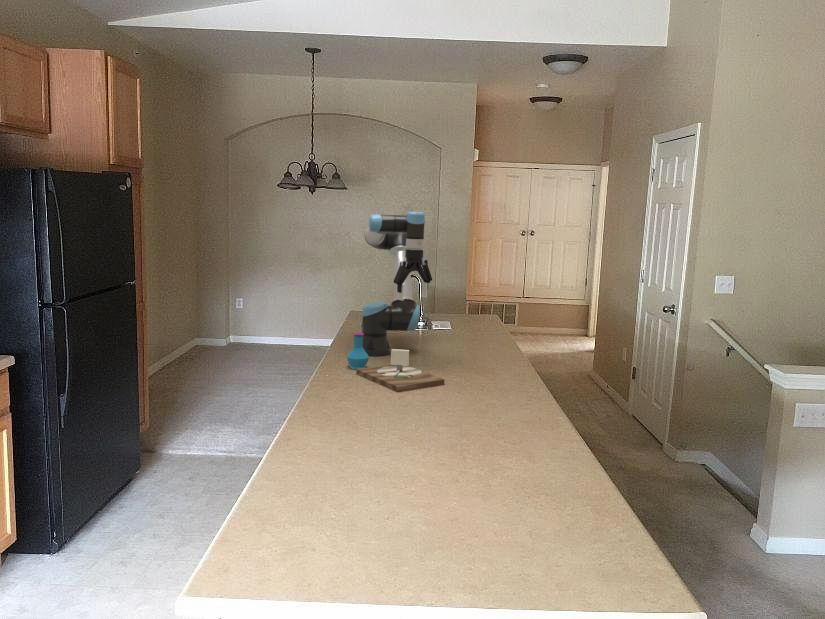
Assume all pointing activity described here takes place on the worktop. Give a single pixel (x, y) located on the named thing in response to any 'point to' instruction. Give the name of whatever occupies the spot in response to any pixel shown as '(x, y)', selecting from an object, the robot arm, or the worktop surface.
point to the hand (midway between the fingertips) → (412, 298)
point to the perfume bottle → (358, 353)
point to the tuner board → (400, 377)
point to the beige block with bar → (399, 359)
